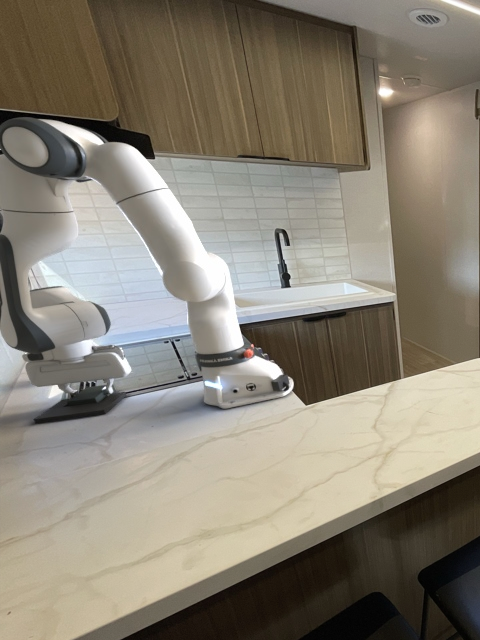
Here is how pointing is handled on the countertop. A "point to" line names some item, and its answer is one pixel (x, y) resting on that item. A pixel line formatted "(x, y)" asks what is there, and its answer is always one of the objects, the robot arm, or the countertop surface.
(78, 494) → the countertop surface
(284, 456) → the countertop surface
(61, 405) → the notch mat
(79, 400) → the pad
